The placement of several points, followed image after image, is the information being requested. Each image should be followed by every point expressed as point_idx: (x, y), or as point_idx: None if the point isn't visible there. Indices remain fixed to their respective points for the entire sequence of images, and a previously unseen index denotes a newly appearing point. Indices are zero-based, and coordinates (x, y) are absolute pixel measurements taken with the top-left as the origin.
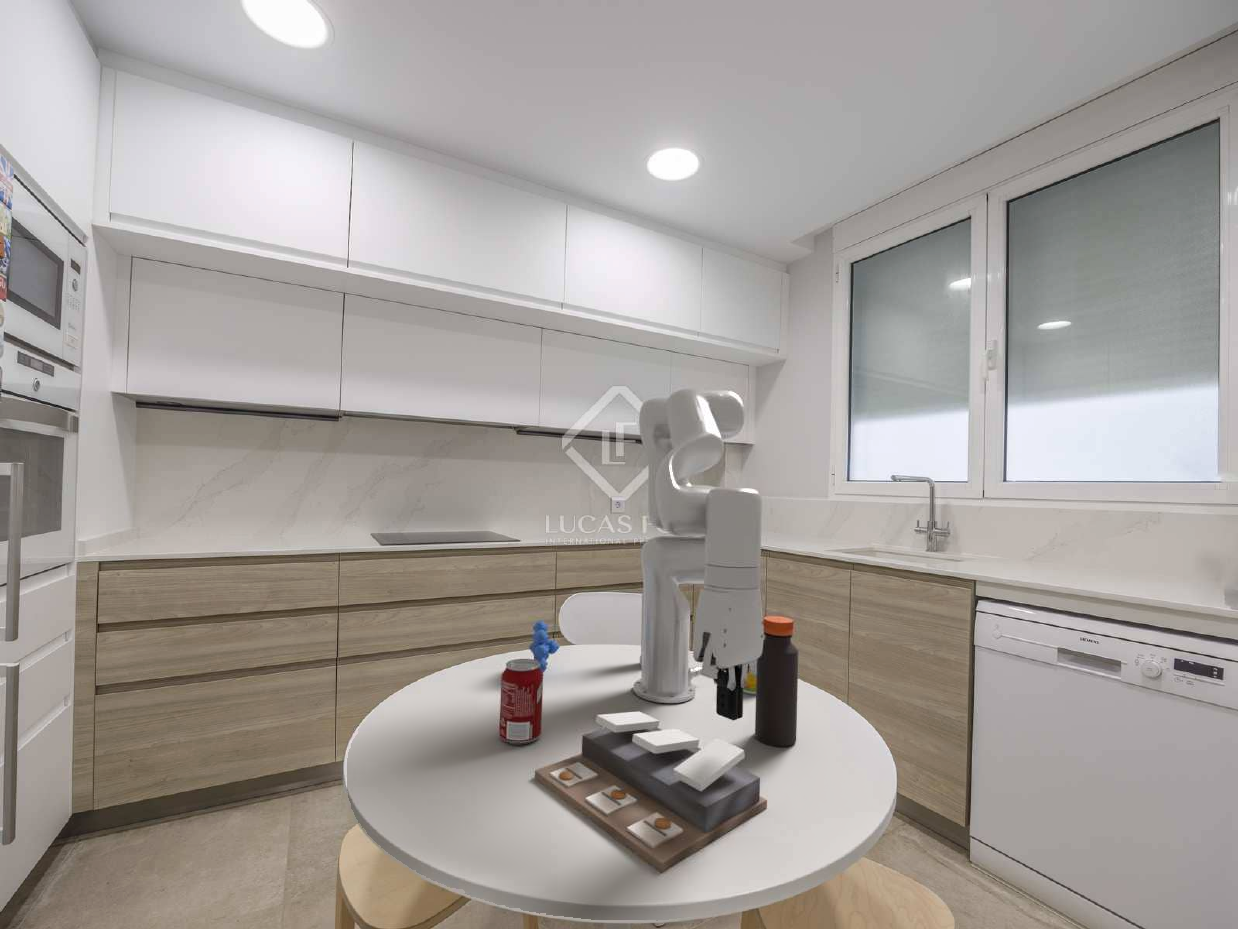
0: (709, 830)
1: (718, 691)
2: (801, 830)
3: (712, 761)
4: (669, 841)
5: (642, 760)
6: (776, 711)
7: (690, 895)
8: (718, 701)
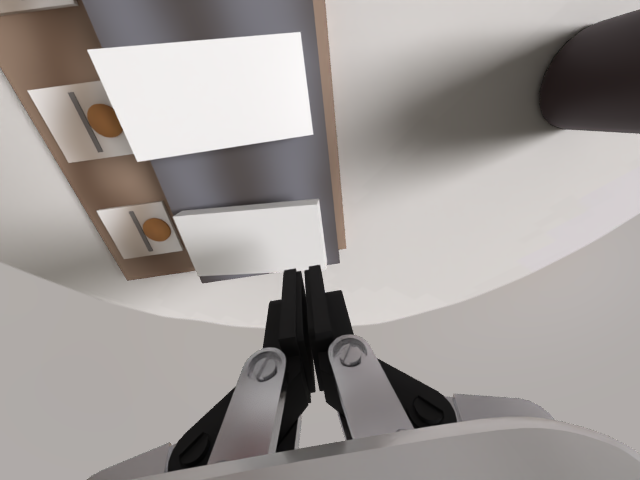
0: None
1: (263, 346)
2: (341, 289)
3: (252, 251)
4: (155, 255)
5: None
6: (624, 111)
7: (153, 307)
8: (267, 318)
